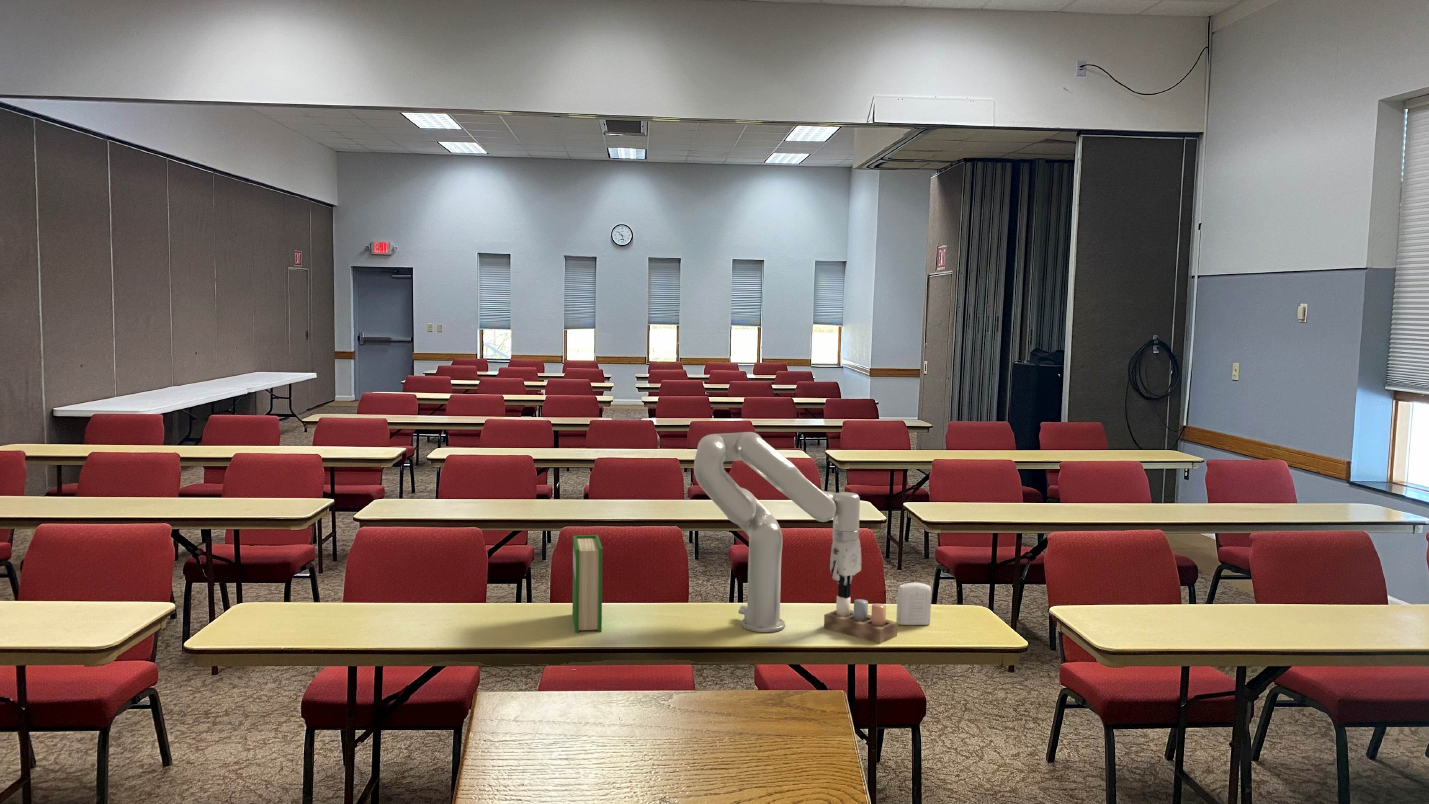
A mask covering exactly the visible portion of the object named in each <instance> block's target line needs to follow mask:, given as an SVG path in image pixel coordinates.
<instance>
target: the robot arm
mask: <svg viewBox="0 0 1429 804" xmlns="http://www.w3.org/2000/svg"><path fill="white" fill-rule="evenodd" d="M696 450H697V451H696V454H695V456H694V462H693V472H694V473H693V474H694V477H695V480H696V482H697V484H698V485H699V487H700V488H701V489H702V491H704V492H705V494H706V495H707V496H708V497H709V498H710V499H711V500H712V502H713V504H715V505H716V506H717V507H718V508H719V510H720V511H721V512H722V513H723V514H724V515H725V516H726V518H727V519H728V520H729V521H730V522H732V523H733V524H735V525H737V526H738V527H739V528H740V529H741V530H742V531H743V532H744V533H745V534H746V535H747V536H748V561H747V562H748V563H747V565H748V567H747V569H748V570H747V604H746V605H741V606H740V608H739V609H738V611H737V612H738V614H741V615H743V616H744V618H743V619H742V620H741V626H742V627H743V628H744V629H746V630H748V631H751V632H756V633H757V632H758V633H772V632H773V633H775V632H780V631H782V630H783V629H784V628H785V627H786V626H785V625H786V622H785V621H784V620H783V619H782V618H781V617H780V616H781V588H782V587H781V583H782V582H781V581H782V574H781V573H782V572H781V571H782V551H783V544H784V543H783V541H784V539H783V532H782V528H781V527H780V524H779V523H778V521H777V519H776V518H775V516H773V515H772V513H771V512H770V511H769V510H768V509H767V508H766V507H765V506H764V505H763V503H761V502H760V500H758V498H756V497H755V496H754V494H753V493H752V492H750V491H749V490H748V489H747V488H744V487H741V486H739V484H738V483H737V482H736V481H735V480H734V479H733V477H732V476H731V475H729V473H728V472H727V471H726V470H725V468H724V463H725V462H735V461H736V462H738V461H741V462H743V463H744V464H746V465H747V466H749V468H751V469H752V470H753V471H755V472H756V473H757V474H758V475H759V476H761V477H762V478H764V479H765V480H766V481H767V483H769V484H770V485H772V486H773V488H775V489H776V490H778V491H779V492H780V493H782V494H783V495H784V496H786V497H787V498H788V499H789V500H791V501H792V502H793V503H794V504H795V505H796V506H798V507H799V508H800V509H801V510H803V511H804V512H805V513H807V514H808V515H809V516H810V517H812V519H814V520H815V521H818V522H819V523H820V522H821V523H825V522H828V521H831V520H832V521H833V522H832V544H831V550H830V551H831V552H830V560H829V561H830V562H829V563H830V564H829V570H830V573H831V574H832V580H834V581H836V584H838V585H837V596H839V597H843V598H849V597H851V584H852V581H853V577H854V576H856V575H857V573H860V572H861V571H862V547H861V541H860V537H859V536H860V511H861V510H860V505H861V499H860V498H861V497H860V496H859V494H857V493H855V492H849V491H843V492H842V491H841V492H832V491H828V490H827V491H826V490H821V489H819V488H818V487H817V486H816V485H815V484H813V483H812V482H811V481H810V480H809V479H808V478H806V476H805V475H804V474H803V473H802V472H801V470H799V469H798V467H797V466H796V465H795V464H793V462H792V461H790V460H789V459H787V457H785V456H784V455H782V454H781V453H780V452H779V451H778V450H776V449H775V448H774V447H773V446H772V445H770V444H769V443H767V441H765V440H764V439H763V438H762V437H761V435H759V433H756V432H753V431H744V432H743V431H742V432H741V431H740V432H729V433H712V434H707V435H705V436H703V437H702V438H701V439H700V440H699V441H698V444H697V449H696Z"/></svg>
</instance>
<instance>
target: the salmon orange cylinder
mask: <svg viewBox="0 0 1429 804" xmlns="http://www.w3.org/2000/svg"><path fill="white" fill-rule="evenodd" d="M870 615H871V624H872V625H875V626H879V627H883V626H885V625H886V620H887V619H886V617H887V605H886V604H883V603H872V604H871V614H870Z"/></svg>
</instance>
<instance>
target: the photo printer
mask: <svg viewBox="0 0 1429 804" xmlns="http://www.w3.org/2000/svg"><path fill="white" fill-rule="evenodd" d="M896 599H897V601H896V619H895V622H897V625H899V626H917V625H918V626H923V625H924V626H925V625H927V626H928V625H929V626H930V624H931V611H932V610H931V608H932V587H931V586H930V585H929V584H926V583H921V582H907V583H903V584H901V585H899V586H898V588H897V598H896Z"/></svg>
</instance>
